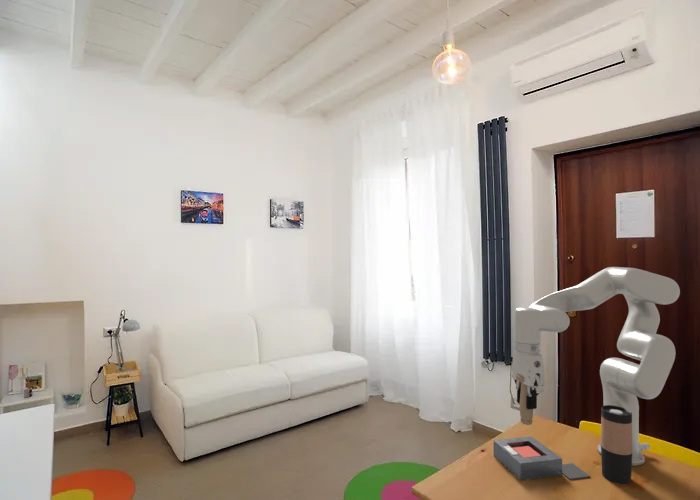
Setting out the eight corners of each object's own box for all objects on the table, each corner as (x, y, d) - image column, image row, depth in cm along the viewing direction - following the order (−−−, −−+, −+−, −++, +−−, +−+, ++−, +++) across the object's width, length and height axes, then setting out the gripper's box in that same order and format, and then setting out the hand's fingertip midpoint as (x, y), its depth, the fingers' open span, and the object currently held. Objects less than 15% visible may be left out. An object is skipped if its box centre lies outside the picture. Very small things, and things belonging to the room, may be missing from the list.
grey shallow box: (531, 451, 129) (531, 435, 129) (562, 475, 115) (562, 457, 115) (493, 455, 126) (493, 439, 126) (520, 480, 113) (520, 462, 113)
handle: (540, 426, 119) (540, 378, 119) (519, 426, 119) (519, 378, 119) (533, 420, 123) (533, 373, 123) (512, 419, 123) (513, 373, 123)
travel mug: (598, 477, 114) (598, 410, 114) (603, 467, 120) (603, 402, 120) (630, 488, 109) (630, 418, 109) (633, 477, 115) (634, 409, 115)
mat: (572, 464, 121) (572, 463, 121) (590, 477, 114) (590, 475, 114) (552, 466, 120) (552, 465, 120) (569, 479, 113) (569, 478, 113)
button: (528, 449, 124) (528, 445, 124) (541, 459, 119) (541, 455, 119) (511, 451, 123) (511, 447, 123) (523, 461, 117) (523, 457, 117)
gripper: (556, 353, 114) (556, 416, 114) (521, 340, 130) (520, 395, 130) (534, 354, 112) (533, 417, 112) (500, 341, 129) (500, 396, 129)
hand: (526, 405), depth 121 cm, fingers closed on handle, 3 cm apart
